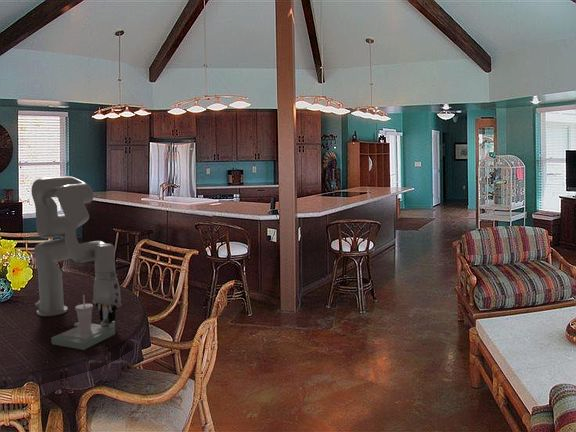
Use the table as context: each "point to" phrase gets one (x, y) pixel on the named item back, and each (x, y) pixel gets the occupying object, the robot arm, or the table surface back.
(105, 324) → the lever
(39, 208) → the robot arm
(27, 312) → the table surface
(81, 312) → the smoothie
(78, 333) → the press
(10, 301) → the table surface
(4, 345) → the table surface
